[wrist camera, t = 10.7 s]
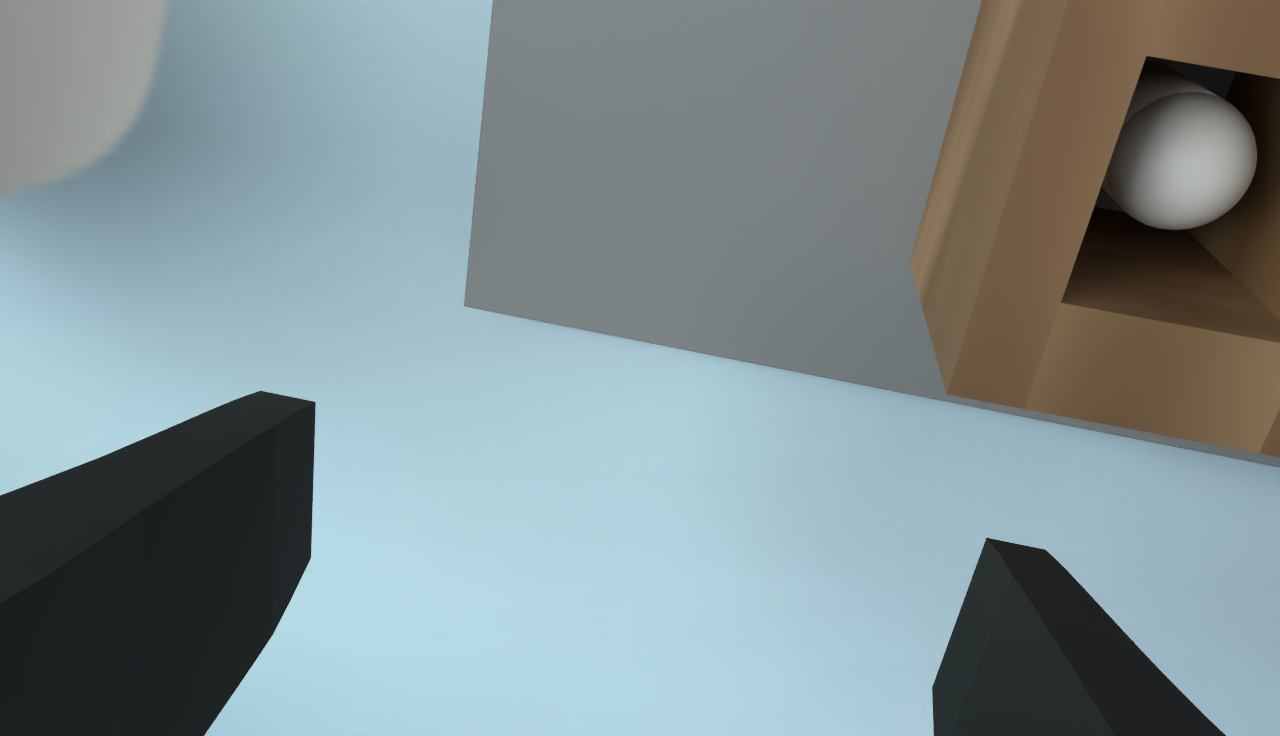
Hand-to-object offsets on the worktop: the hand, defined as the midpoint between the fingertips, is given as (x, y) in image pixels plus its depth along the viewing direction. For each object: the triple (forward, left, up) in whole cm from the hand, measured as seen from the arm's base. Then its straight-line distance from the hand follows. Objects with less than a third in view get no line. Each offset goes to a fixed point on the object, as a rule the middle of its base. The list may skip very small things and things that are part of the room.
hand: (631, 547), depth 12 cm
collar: (-6, -4, -8) cm, 11 cm away
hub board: (-6, -6, -9) cm, 12 cm away
